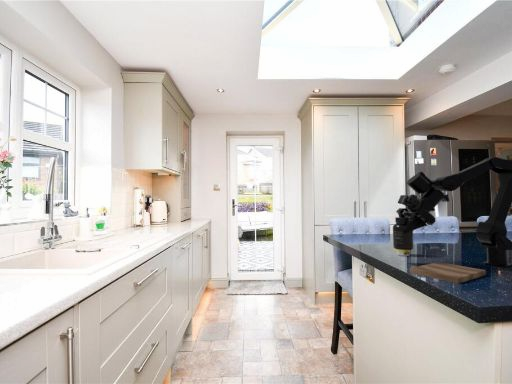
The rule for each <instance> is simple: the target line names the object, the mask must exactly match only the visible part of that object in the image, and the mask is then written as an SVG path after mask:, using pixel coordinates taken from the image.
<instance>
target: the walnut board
mask: <svg viewBox="0 0 512 384" xmlns="http://www.w3.org/2000/svg"><path fill="white" fill-rule="evenodd" d="M409 274H413V275H419V276H422V277H426V276H427V278H430V279H431V278H432V279H435V280H440V281H445V282H450V283H453V284H458V285H459V284H461V283H462V284H463V283H465V282H468V281H472V280H474V279H478V278H480V277H484V276H487V271H486V269H480V268H474V267H469V266H464V265H463V266H462V265H457V264H452V263H446V262H440V261H438V262H433V263H427V264H424V265H418V266H414V267H409Z"/></svg>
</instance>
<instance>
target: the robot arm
mask: <svg viewBox="0 0 512 384" xmlns="http://www.w3.org/2000/svg"><path fill="white" fill-rule="evenodd" d="M488 171H489V172H490V171H491V172H492V173H494V174H497V175H498V177H497V178H498V182H499V187H498V190H497V192H496V195H495V197H494V200H493V203H492V207H491V209H490V212H489V215H488V217H487V219H486V220H485V221H479V222H478V224H477V228H476V230H475V232H476V234H475V236H476V238H477V239H478V241H479V243H480V245H481V246H482V247H486V261H484V262H483V263H482V264H484V265H490V266H497V267H502V268H507V267H510V266H512V263H511V262H510V263H509V262H508V261H509V256H508V251H510V250H511V251H512V241H511V239H510V238H508V237H507V234H508V228H507V227H506V220H507V218H508V215H509V212H510V209H511V207H512V159H506V158H505V159H504V158H501V157H498V156H492V157H488V158H485V159H483V160H481V161H479V162H477V163H475V164H472V165H471V166H469V167H466V168H465V169H464V168H463V169H462V170H461V171H458V172H455V173H450V174H448V175H444V176H441V177H437V178H436V179H435V180H431V179H430V178H429V177H428V176H426V174H425V173H424V172H423V171H419V172H417V173H416V174H415V175H413V176H412V177H410V178H408V180H407V181H406V185H407V186H409V188H410V189H412V190H413V191H414V192H415V193H416V194H418V195H420V194H421V195H422V196H421V197H420V198H418V195H416V194H410V195H406V194H402V195H401V194H400V196H399V199H398V200H397V204H399V205H400V204H401V205H402V206H404V207H405V206H406V207H405V208H404V207H399V208H397V210H396V211H395V212H396V213H397V215H398V217H408V218H409V219H410V221H409V223H408V224H407V225H406V227H405V228H404V230H403V231H402V232H403V233H408V232H410V231H413V232H414V231H415V230H418V229H421V228H424V227H427V226H433V225H434V224H435V223H436V220H437V218H436V217H435V216H434V215H433V214H432V213H431V212H434V211H435V210H436V207H437V205H438V204H439V203H441V202H443V203H444V202H446V203H448V202H450V198H449V196H450V195H449V194H445V193H444V192H453V191H455V190H457V189H459V188H460V187H461V186H463V184H464V183H466V182H467V181H470V179H474V178H476V177H477V176H480V175H481V174H482V175H483V174H484V173H486V172H488Z"/></svg>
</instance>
